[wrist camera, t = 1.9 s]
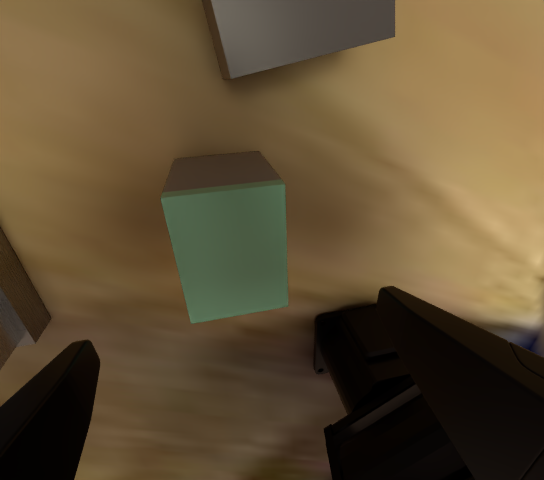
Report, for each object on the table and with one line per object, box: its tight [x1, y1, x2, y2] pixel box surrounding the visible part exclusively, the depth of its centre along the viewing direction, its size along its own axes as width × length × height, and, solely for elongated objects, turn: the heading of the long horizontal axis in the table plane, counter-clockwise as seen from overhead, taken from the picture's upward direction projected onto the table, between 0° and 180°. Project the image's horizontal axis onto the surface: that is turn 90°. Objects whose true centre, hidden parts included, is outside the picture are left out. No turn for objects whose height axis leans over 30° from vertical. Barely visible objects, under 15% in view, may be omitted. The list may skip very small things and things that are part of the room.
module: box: [160, 151, 288, 324], centre depth 15 cm, size 6×4×6 cm
